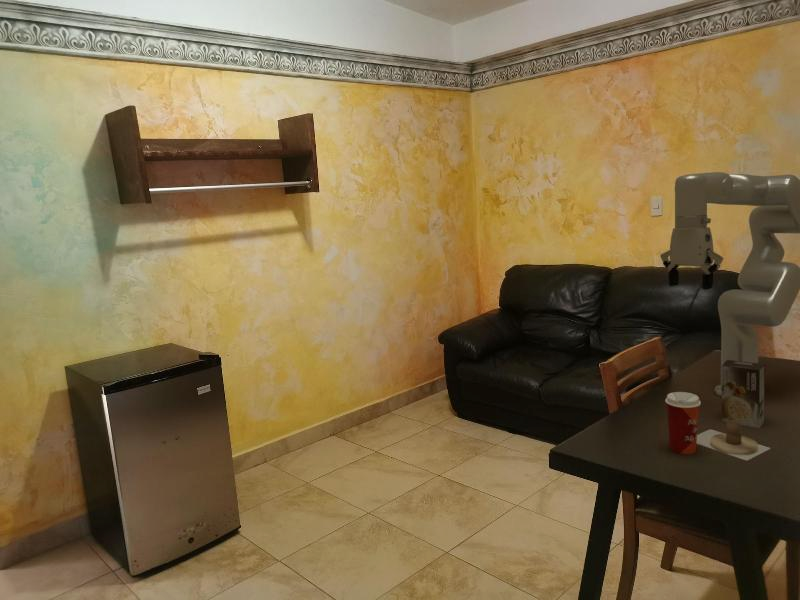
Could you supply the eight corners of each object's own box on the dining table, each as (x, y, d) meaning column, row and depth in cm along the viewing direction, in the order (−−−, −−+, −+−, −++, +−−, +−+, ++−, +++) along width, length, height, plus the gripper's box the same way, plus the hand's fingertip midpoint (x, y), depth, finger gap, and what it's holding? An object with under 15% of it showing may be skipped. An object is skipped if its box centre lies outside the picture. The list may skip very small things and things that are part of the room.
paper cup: (698, 460, 136) (699, 403, 134) (663, 455, 140) (662, 400, 138) (702, 447, 143) (702, 392, 140) (667, 442, 147) (667, 389, 144)
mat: (710, 431, 151) (710, 429, 151) (770, 450, 138) (770, 448, 138) (686, 442, 146) (686, 439, 146) (746, 463, 133) (746, 460, 133)
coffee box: (765, 422, 154) (766, 363, 151) (759, 430, 149) (761, 370, 146) (726, 415, 160) (727, 359, 157) (720, 423, 155) (720, 365, 152)
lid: (725, 433, 147) (725, 411, 146) (766, 446, 139) (767, 423, 138) (701, 445, 142) (701, 421, 141) (742, 459, 134) (742, 434, 133)
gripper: (731, 221, 147) (730, 288, 150) (670, 221, 162) (670, 282, 165) (713, 224, 143) (712, 292, 146) (652, 224, 158) (652, 286, 161)
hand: (690, 287), depth 155 cm, fingers open, 9 cm apart
